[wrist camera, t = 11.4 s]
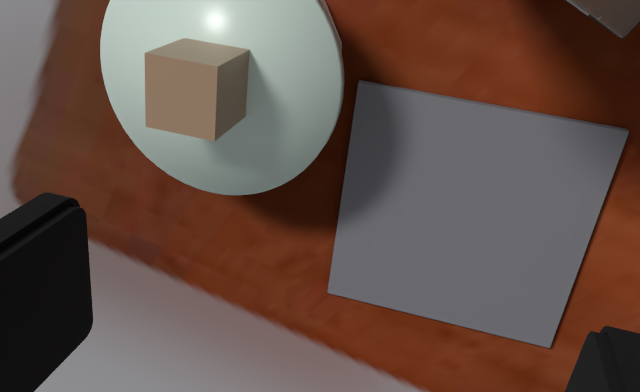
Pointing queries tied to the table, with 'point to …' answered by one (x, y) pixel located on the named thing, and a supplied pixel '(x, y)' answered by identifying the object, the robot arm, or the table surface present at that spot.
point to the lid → (224, 87)
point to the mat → (468, 209)
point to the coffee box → (612, 14)
